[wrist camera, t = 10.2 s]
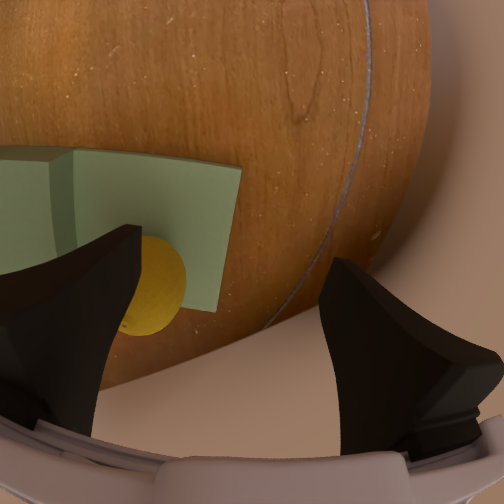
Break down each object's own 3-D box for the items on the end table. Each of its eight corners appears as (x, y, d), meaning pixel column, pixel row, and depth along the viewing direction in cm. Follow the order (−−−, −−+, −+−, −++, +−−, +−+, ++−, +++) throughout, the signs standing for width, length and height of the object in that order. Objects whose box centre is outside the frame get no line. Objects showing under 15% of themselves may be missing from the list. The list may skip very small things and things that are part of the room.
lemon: (202, 228, 21) (182, 303, 14) (185, 289, 23) (167, 369, 17) (127, 208, 20) (77, 271, 13) (119, 270, 22) (81, 343, 16)
